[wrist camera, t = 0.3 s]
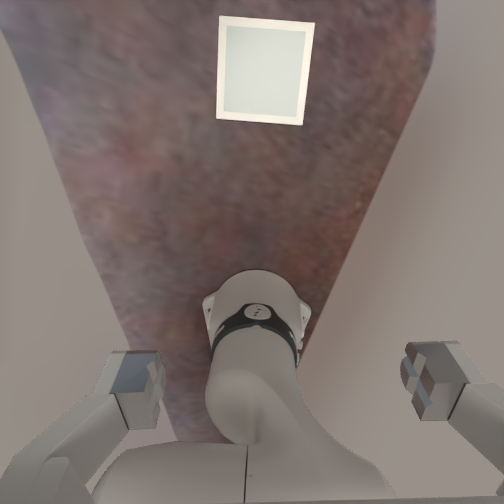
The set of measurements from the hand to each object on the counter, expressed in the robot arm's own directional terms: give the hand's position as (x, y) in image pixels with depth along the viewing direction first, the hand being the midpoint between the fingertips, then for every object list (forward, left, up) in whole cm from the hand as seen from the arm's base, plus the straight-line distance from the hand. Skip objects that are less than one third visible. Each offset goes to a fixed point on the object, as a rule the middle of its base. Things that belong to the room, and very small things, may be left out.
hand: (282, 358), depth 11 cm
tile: (+13, +2, -42) cm, 43 cm away
